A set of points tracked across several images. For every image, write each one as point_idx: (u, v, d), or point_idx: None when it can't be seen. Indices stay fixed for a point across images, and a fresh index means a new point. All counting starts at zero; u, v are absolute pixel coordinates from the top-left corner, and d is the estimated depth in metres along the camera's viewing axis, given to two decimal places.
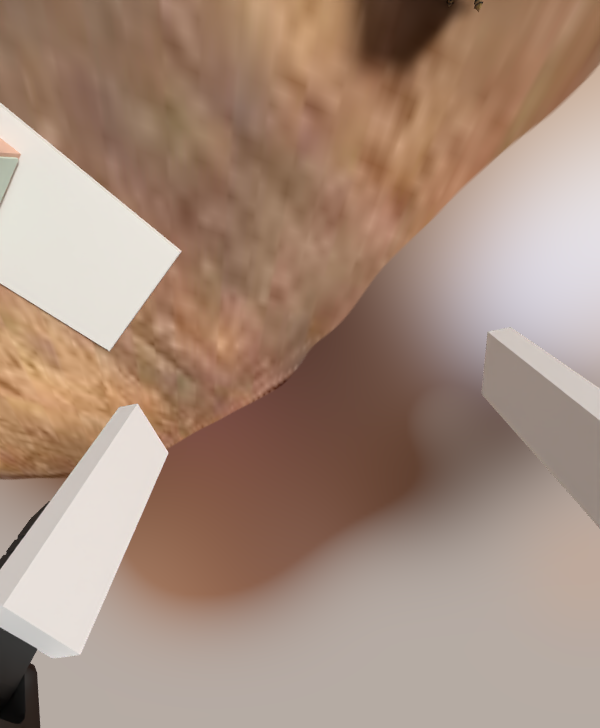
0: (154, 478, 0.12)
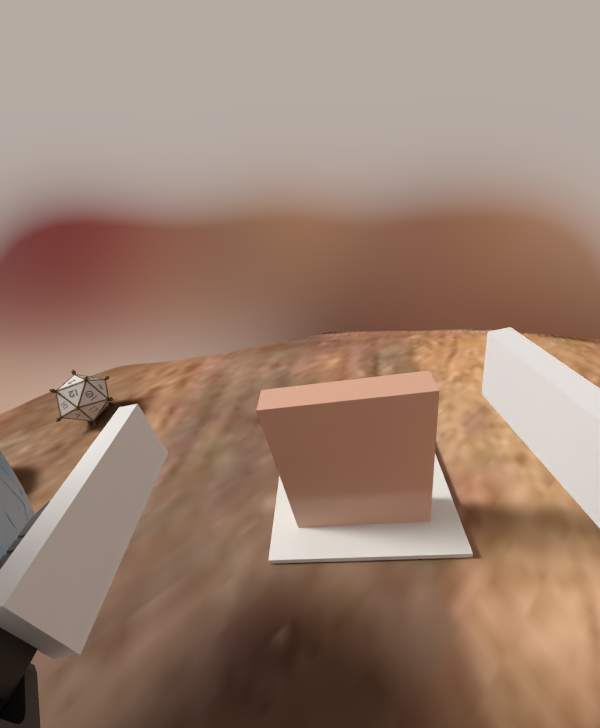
0: (154, 479, 0.12)
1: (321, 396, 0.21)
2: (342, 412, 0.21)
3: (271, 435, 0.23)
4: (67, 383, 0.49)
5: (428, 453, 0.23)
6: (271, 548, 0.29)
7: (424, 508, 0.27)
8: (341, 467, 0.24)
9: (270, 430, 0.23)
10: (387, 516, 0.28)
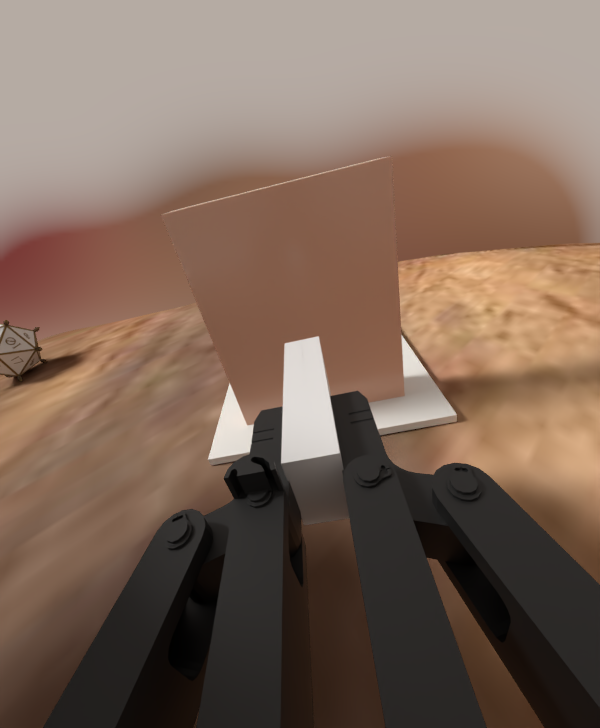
0: None
1: (245, 192, 0.17)
2: (273, 209, 0.16)
3: (188, 261, 0.18)
4: None
5: (390, 276, 0.18)
6: (212, 448, 0.23)
7: (395, 375, 0.22)
8: (285, 313, 0.19)
9: (185, 252, 0.17)
10: None
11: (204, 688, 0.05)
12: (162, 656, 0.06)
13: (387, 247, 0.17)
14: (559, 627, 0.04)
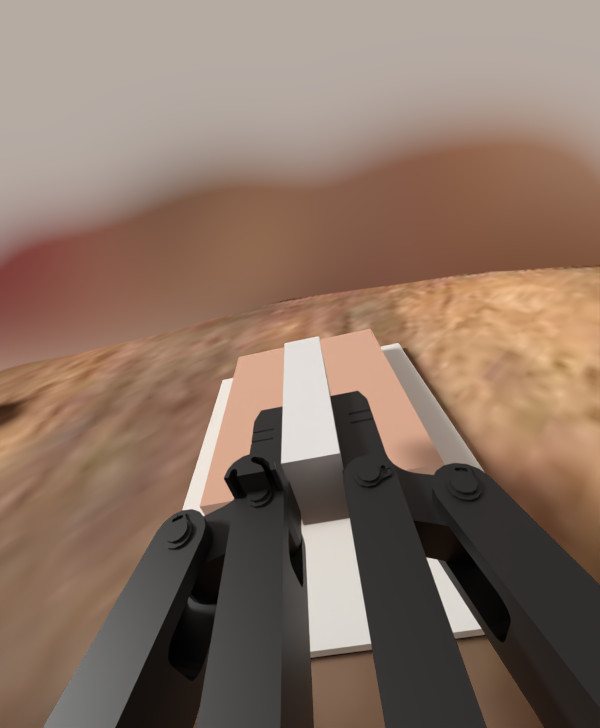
0: None
1: None
2: None
3: (240, 371, 0.26)
4: None
5: (383, 364, 0.22)
6: None
7: (416, 435, 0.16)
8: None
9: (241, 367, 0.27)
10: None
11: (204, 688, 0.05)
12: (162, 656, 0.06)
13: (376, 353, 0.24)
14: (559, 627, 0.04)
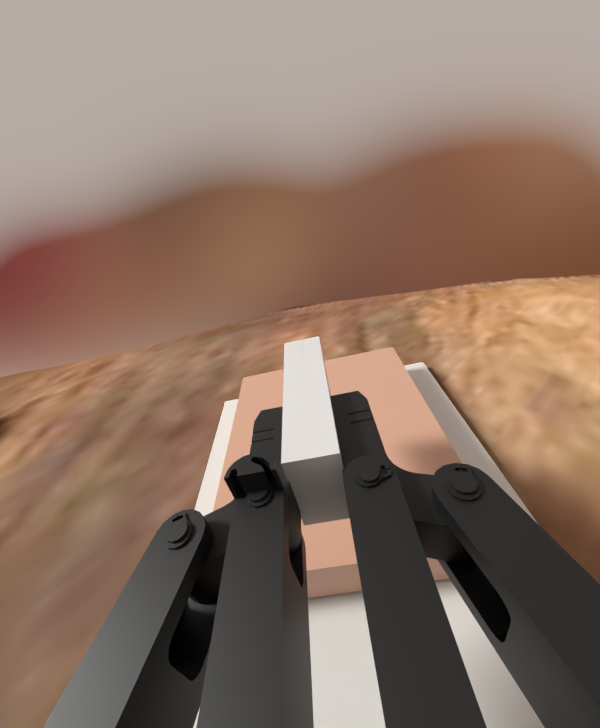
0: None
1: None
2: None
3: (244, 395, 0.23)
4: None
5: (412, 393, 0.19)
6: None
7: None
8: None
9: (246, 391, 0.23)
10: None
11: (204, 688, 0.05)
12: (162, 656, 0.06)
13: (402, 378, 0.21)
14: (559, 627, 0.04)
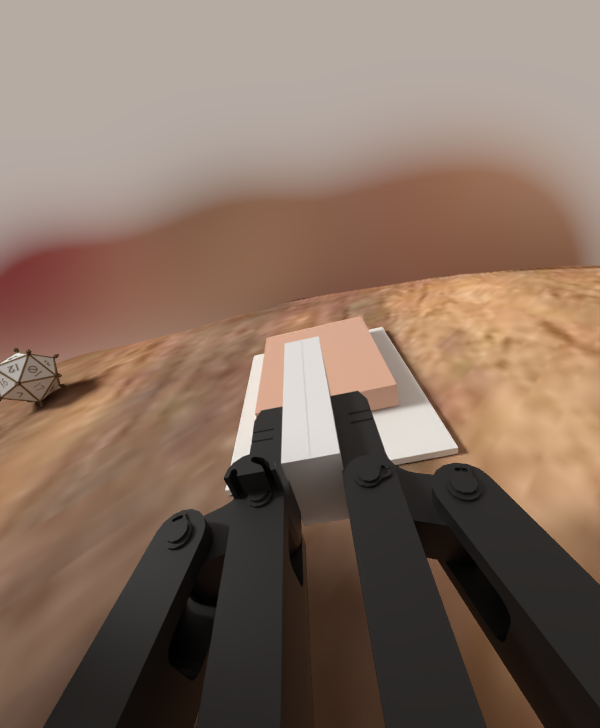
0: None
1: None
2: (312, 330, 0.38)
3: (269, 346, 0.37)
4: (7, 359, 0.44)
5: (367, 337, 0.33)
6: None
7: (383, 372, 0.27)
8: None
9: (269, 344, 0.38)
10: (349, 386, 0.27)
11: (204, 688, 0.05)
12: (162, 656, 0.06)
13: (363, 331, 0.35)
14: (559, 627, 0.04)
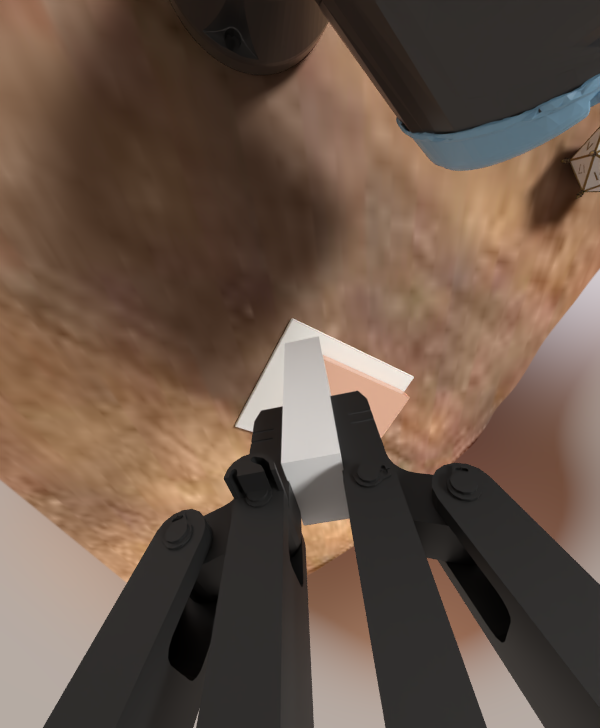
0: None
1: None
2: (382, 427, 0.46)
3: (395, 394, 0.44)
4: None
5: None
6: (299, 323, 0.39)
7: None
8: None
9: (397, 395, 0.45)
10: None
11: (204, 688, 0.05)
12: (162, 656, 0.06)
13: None
14: (559, 627, 0.04)
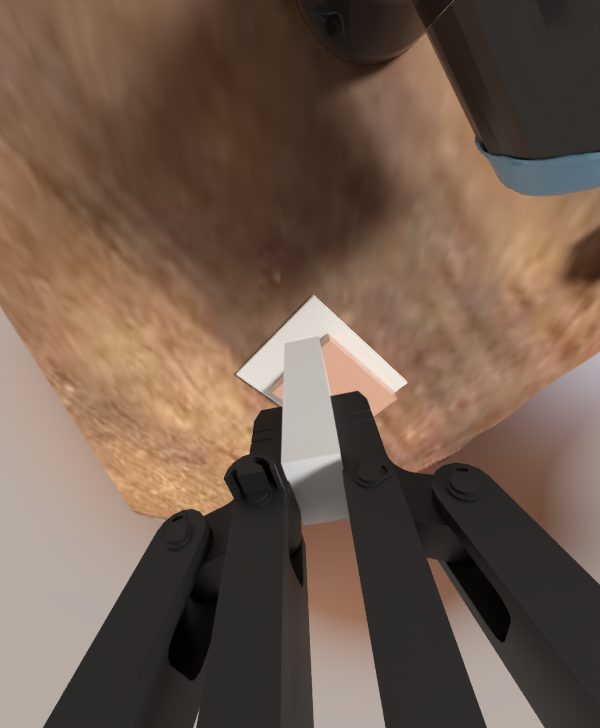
0: None
1: None
2: None
3: (384, 391, 0.48)
4: None
5: None
6: (318, 301, 0.42)
7: None
8: None
9: (386, 393, 0.48)
10: None
11: (204, 688, 0.05)
12: (162, 656, 0.06)
13: None
14: (559, 627, 0.04)
